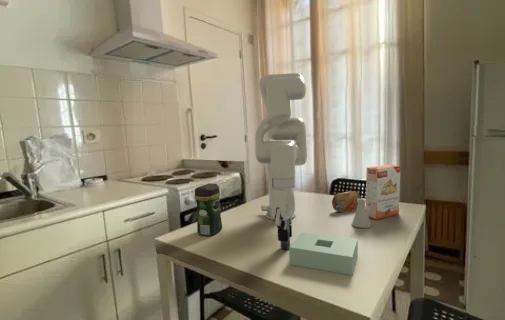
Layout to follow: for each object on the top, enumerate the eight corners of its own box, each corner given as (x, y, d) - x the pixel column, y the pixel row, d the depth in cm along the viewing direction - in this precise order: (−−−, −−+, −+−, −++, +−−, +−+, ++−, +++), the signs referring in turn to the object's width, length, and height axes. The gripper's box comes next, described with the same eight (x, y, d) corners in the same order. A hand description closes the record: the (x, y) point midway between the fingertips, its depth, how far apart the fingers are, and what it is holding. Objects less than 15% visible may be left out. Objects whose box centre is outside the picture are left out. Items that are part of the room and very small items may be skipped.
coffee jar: (208, 226, 115) (205, 181, 113) (225, 228, 111) (222, 182, 109) (193, 235, 106) (190, 186, 104) (211, 238, 103) (208, 187, 101)
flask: (373, 229, 105) (373, 202, 103) (352, 228, 106) (352, 202, 105) (369, 222, 112) (369, 197, 110) (350, 222, 113) (349, 197, 112)
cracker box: (377, 220, 113) (377, 168, 111) (365, 216, 118) (365, 167, 116) (400, 214, 119) (401, 165, 117) (387, 210, 125) (388, 163, 122)
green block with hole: (289, 263, 81) (289, 247, 80) (301, 247, 92) (301, 232, 91) (352, 275, 73) (352, 257, 73) (357, 255, 84) (357, 239, 84)
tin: (335, 214, 124) (335, 195, 123) (330, 212, 127) (330, 193, 126) (361, 208, 130) (361, 190, 129) (356, 207, 133) (356, 189, 132)
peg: (279, 248, 91) (278, 218, 89) (282, 244, 93) (281, 215, 92) (288, 249, 89) (287, 219, 88) (291, 245, 92) (290, 216, 91)
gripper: (281, 177, 97) (282, 228, 100) (261, 187, 83) (264, 247, 85) (302, 178, 94) (303, 231, 97) (285, 189, 80) (287, 251, 82)
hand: (285, 238), depth 91 cm, fingers closed on peg, 3 cm apart
